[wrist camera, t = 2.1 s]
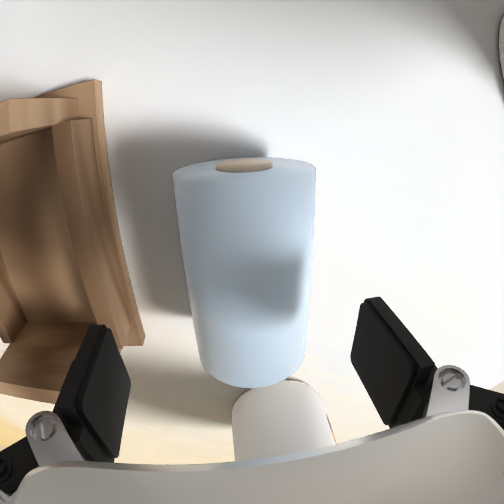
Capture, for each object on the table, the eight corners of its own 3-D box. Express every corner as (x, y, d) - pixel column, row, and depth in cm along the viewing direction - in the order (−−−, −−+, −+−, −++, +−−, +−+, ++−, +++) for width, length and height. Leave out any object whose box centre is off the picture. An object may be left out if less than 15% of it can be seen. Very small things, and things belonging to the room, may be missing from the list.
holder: (101, 81, 13) (29, 68, 6) (145, 335, 20) (126, 419, 13) (-27, 125, 12) (-103, 146, 6) (31, 334, 19) (-6, 398, 13)
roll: (181, 158, 15) (159, 183, 10) (297, 151, 16) (336, 174, 10) (201, 322, 20) (198, 394, 14) (293, 315, 20) (316, 382, 15)
